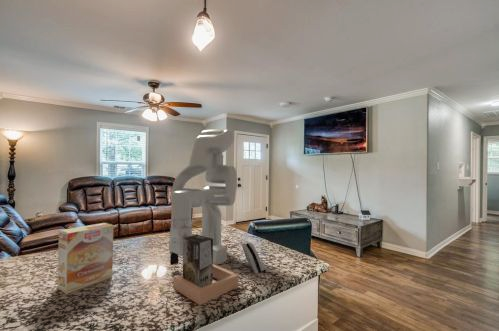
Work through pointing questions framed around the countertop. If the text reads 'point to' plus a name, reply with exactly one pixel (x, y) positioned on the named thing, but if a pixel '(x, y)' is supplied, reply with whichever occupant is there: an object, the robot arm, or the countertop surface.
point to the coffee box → (198, 260)
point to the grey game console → (253, 257)
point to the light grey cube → (219, 254)
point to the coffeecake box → (84, 256)
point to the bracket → (209, 292)
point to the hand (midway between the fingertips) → (180, 267)
